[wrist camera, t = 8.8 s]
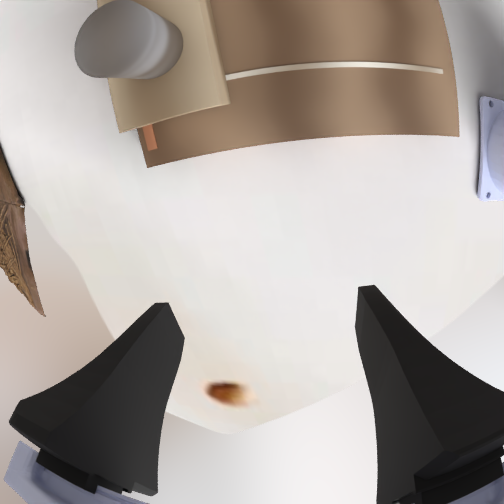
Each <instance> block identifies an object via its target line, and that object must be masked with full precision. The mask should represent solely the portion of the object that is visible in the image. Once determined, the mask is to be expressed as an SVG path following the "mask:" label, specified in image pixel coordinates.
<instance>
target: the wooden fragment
mask: <svg viewBox="0 0 504 504" xmlns="http://www.w3.org/2000/svg"><path fill="white" fill-rule="evenodd" d="M20 205H22V206H25V203H24V201H23V200H22V198H21V197H20V196H19V195H18V192H17V190H16V188H15V185H14V183H13V181H12V178H11V175H10V173H9V171H8V168H7V165H6V163H5V160H4V157H3V154H2V151H1V149H0V267H1V268H2V269H3V270H4V272H5V274H6V275H7V276H8V279H9V281H10V282H11V283H14V285H15V286H16V287H17V289H18V290H19V291H20V292H21V293H22V294H24V296H25V297H26V298H27V300H28V301H29V303H30V304H31V305H32V306H33V307H34V308H35V309H36V310H37V311H38V312H39V313H40V314H41V315H43V316H45V317H46V315H44V311H43V308H42V305H41V302H40V298H39V295H38V291H37V286H36V282H35V279H34V274H33V271H32V267H31V263H30V257H29V251H28V244H27V235H26V227H25V216H24V209H25V207H24V208H21V207H20Z"/></svg>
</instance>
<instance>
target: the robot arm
mask: <svg viewBox="0 0 504 504" xmlns="http://www.w3.org/2000/svg"><path fill="white" fill-rule="evenodd" d="M489 101H490V106H489ZM480 120H481V154H480V173H479V185H478V198H479V199H480V200H481V201H502V200H504V101H503V100H499V99H495V98H491V97H487V96H481V97H480ZM487 193H488V194H487ZM486 195H487V196H486ZM355 330H356V336H357V342H358V348H359V353H360V356H361V360H362V364H363V367H364V371H365V375H366V379H367V382H368V386H369V390H370V394H371V398H372V403H373V409H374V416H375V426H376V439H377V459H378V460H377V462H378V479H377V500H376V501H377V504H504V462H503V463H502V462H501V458H500V457H502V456H503V455H504V449H503V445H504V392H503V391H501V390H499V389H497V388H495V387H493V386H491V385H489V384H488V383H485V382H484V381H482V380H481V379H479V378H477V377H476V376H474V375H472V374H471V373H469V372H468V371H466V370H465V369H463V368H462V367H461V366H459V365H458V364H456V363H455V362H453V361H452V360H451V359H449V358H448V357H447V356H446V355H444V354H443V353H442V352H441V351H439V350H438V349H437V348H436V347H434V346H433V345H432V344H431V343H430V342H429V341H428V340H427V339H426V338H425V337H424V336H422V335H421V334H420V333H419V332H418V331H417V330H416V329H415V328H414V327H413V326H412V325H411V324H410V323H409V322H408V321H407V320H406V319H405V318H404V316H403V315H402V314H401V313H400V312H399V311H398V310H397V309H396V308H395V307H394V306H393V305H392V304H391V303H390V301H389V300H388V299H387V298H386V297H385V296H384V295H383V294H382V292H381V291H380V290H379V289H378V288H377V287H376V286H375V285H369V286H362V287H358V299H357V311H356V322H355ZM184 339H185V337H184V335H183V333H182V331H181V329H180V327H179V325H178V323H177V320H176V318H175V316H174V314H173V312H172V310H171V307H170V305H169V303H155V304H154V305H152V306H151V307H150V308H149V309H148V310H147V311H146V312H145V313H144V314H142V315H141V316H140V317H139V318H138V319H137V320H136V321H135V322H134V323H133V324H132V325H131V326H130V327H129V328H128V329H127V330H126V331H125V332H124V333H123V334H122V335H121V336H120V337H119V338H117V339H116V340H115V341H114V342H113V343H112V344H111V345H110V346H109V347H107V348H106V349H105V350H104V351H103V352H102V353H101V354H100V355H98V356H97V357H96V358H95V359H94V360H92V361H91V362H90V363H88V364H87V365H86V366H84V367H83V368H82V369H80V370H79V371H77V372H76V373H74V374H72V375H71V376H69V377H68V378H66V379H65V380H63V381H62V382H60V383H58V384H56V385H54V386H53V387H51V388H49V389H47V390H45V391H43V392H41V393H38V394H36V395H33V396H31V397H28V398H26V399H23V400H20V402H19V403H18V405H17V407H16V408H15V411H14V412H13V414H12V416H11V418H10V420H9V423H10V425H11V426H12V427H13V428H14V429H15V430H17V431H18V432H19V433H20V434H22V435H23V436H24V437H25V438H27V439H28V440H29V441H31V442H32V443H33V444H35V445H36V446H38V447H39V448H41V449H40V452H39V453H38V452H37V451H35V450H33V449H32V448H30V447H29V446H28V445H26V444H24V443H23V442H22V441H19V443H18V445H17V447H16V449H15V452H14V454H13V457H12V459H11V461H10V464H9V467H8V469H7V472H6V475H5V477H4V481H5V482H6V483H7V484H8V485H9V486H10V487H11V488H12V489H13V490H15V491H16V492H17V493H18V494H19V495H20V496H21V497H22V498H23V499H24V500H25V501H26V502H27V503H28V504H148V503H145V502H141V501H139V500H136V499H133V498H130V497H127V496H124V495H121V494H122V491H125V492H128V493H131V492H132V491H135V492H138V493H142V494H145V495H148V496H153V495H155V494H157V493H158V483H157V482H158V474H157V473H158V455H159V444H160V437H161V429H162V424H163V418H164V413H165V409H166V405H167V402H168V399H169V395H170V392H171V389H172V386H173V383H174V380H175V377H176V374H177V370H178V367H179V364H180V361H181V356H182V351H183V345H184Z"/></svg>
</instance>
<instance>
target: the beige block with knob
mask: <svg viewBox="0 0 504 504" xmlns="http://www.w3.org/2000/svg"><path fill="white" fill-rule="evenodd" d="M97 5H98V9H97V10H95V11H94V12H93V13H92V14H91V15H90V16H89V17H88V18H87V20H86V21H85V22H84V24H83V25H82V27H81V29H80V31H79V33H78V35H77V38H76V42H75V59H76V62H77V65H78V66H79V68H80V69H81V71H83V72H84V73H85V74H87V75H89V76H91V77H97V78H108V83H109V88H110V93H111V98H112V103H113V107H114V112H115V116H116V120H117V125H118V129H119V133H122V132H126V131H129V130H133V129H136V128H140V127H143V126H147V125H150V124H153V123H156V122H159V121H163V120H166V119H170V118H173V117H177V116H181V115H184V114H188V113H192V112H196V111H200V110H205V109H209V108H214V107H218V106H223V105H228V104H231V101H230V96H229V91H228V86H227V81H226V76H225V71H224V66H223V61H222V56H221V51H220V46H219V42H218V37H217V32H216V27H215V22H214V17H213V12H212V8H211V3H210V0H97Z"/></svg>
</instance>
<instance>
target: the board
mask: <svg viewBox="0 0 504 504" xmlns="http://www.w3.org/2000/svg"><path fill="white" fill-rule="evenodd" d="M210 3H211V8H212V12H213V17H214V22H215V27H216V32H217V37H218V42H219V46H220V51H221V56H222V61H223V66H224V71H225V76H226V81H227V86H228V91H229V96H230V101H231V104H228V105H223V106H218V107H214V108H209V109H205V110H200V111H196V112H192V113H188V114H184V115H181V116H177V117H173V118H170V119H166V120H163V121H159V122H156V123H153V124H150V125H147V126H143V127H140V128H137V130H138V134H139V138H140V142H141V146H142V150H143V154H144V158H145V161H146V165H147V168H149V167H153V166H157V165H161V164H165V163H169V162H174V161H178V160H182V159H187V158H191V157H196V156H201V155H206V154H211V153H216V152H221V151H227V150H232V149H238V148H244V147H250V146H257V145H264V144H271V143H278V142H287V141H295V140H305V139H315V138H327V137H341V136H359V135H439V136H456V137H459V112H458V98H457V88H456V80H455V72H454V65H453V59H452V54H451V48H450V43H449V39H448V34H447V30H446V26H445V22H444V18H443V14H442V11H441V7H440V4H439V1H438V0H210Z"/></svg>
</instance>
